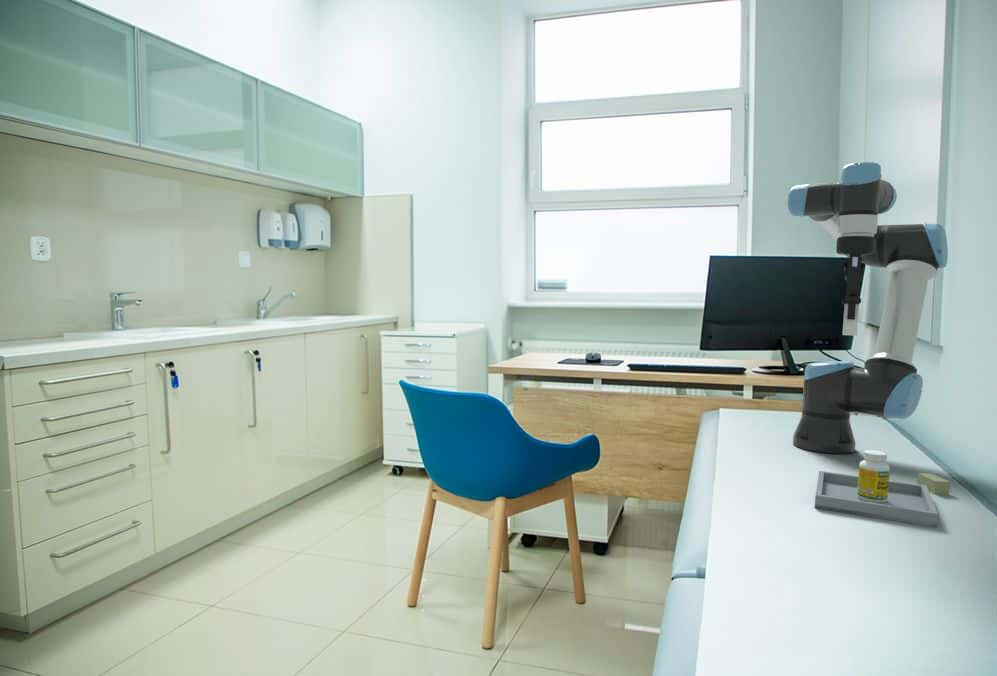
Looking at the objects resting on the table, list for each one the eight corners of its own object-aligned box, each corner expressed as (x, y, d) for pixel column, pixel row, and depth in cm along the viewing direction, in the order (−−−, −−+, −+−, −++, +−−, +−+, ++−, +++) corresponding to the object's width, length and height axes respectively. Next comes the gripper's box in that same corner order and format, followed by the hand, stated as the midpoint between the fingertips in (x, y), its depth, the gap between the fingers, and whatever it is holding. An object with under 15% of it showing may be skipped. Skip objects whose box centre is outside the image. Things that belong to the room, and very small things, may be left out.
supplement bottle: (865, 493, 138) (869, 447, 137) (892, 501, 134) (896, 453, 133) (851, 497, 135) (854, 450, 135) (878, 505, 131) (882, 457, 130)
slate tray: (818, 481, 148) (819, 470, 148) (925, 497, 139) (926, 485, 139) (814, 507, 130) (815, 495, 130) (936, 527, 121) (938, 514, 121)
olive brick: (917, 486, 147) (918, 473, 147) (931, 486, 147) (932, 473, 147) (934, 495, 141) (935, 481, 141) (948, 495, 141) (950, 481, 141)
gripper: (837, 239, 159) (831, 329, 161) (836, 231, 137) (829, 335, 139) (874, 239, 155) (867, 331, 157) (878, 231, 133) (870, 338, 135)
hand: (849, 333), depth 148 cm, fingers open, 13 cm apart
